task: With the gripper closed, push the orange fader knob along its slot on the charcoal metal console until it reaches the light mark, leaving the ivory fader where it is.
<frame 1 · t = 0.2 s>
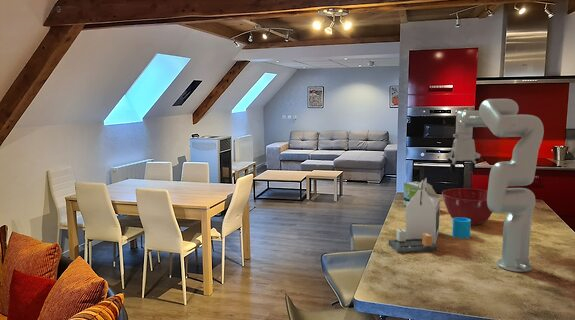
hand: (462, 171, 223), 31 cm above the kitchen island, tool pointing down, fingers open, 9 cm apart
fader orange: (427, 239, 203), point 5 cm above the kitchen island, slide at 1.0 cm
tea box: (417, 207, 281), on the kitchen island
mixing bowl: (468, 221, 249), on the kitchen island
console: (412, 247, 207), on the kitchen island
fader ivory: (401, 235, 210), point 5 cm above the kitchen island, slide at 10.0 cm
gable box: (422, 237, 223), on the kitchen island, touching console
mug: (461, 235, 226), on the kitchen island
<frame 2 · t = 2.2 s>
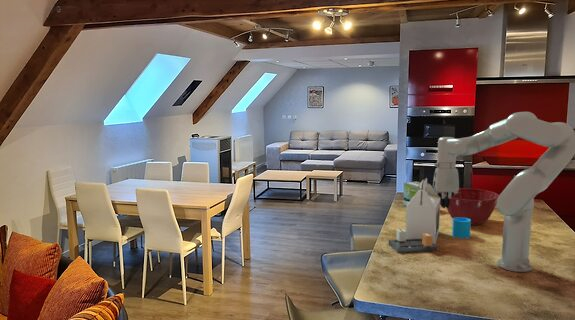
hand: (444, 206, 202), 19 cm above the kitchen island, tool pointing down, fingers closed
nothing on the kitchen island moved.
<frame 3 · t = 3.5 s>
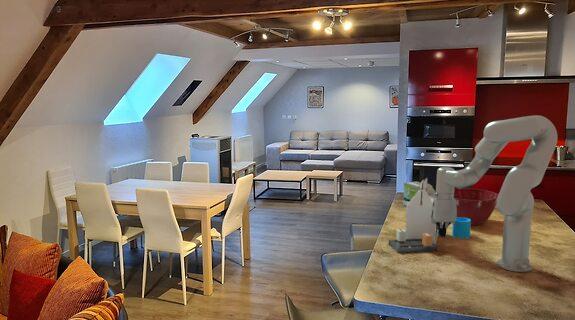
hand: (442, 236, 204), 6 cm above the kitchen island, tool pointing down, fingers closed
nothing on the kitchen island moved.
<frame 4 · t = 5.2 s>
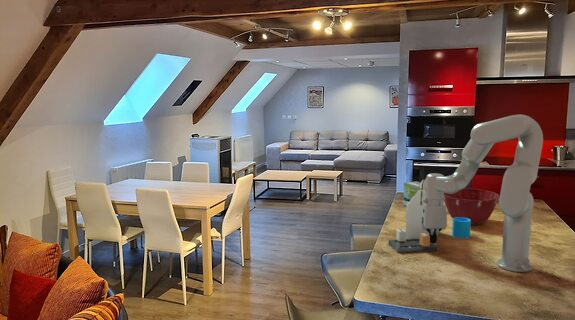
hand: (433, 242, 204), 3 cm above the kitchen island, tool pointing down, fingers closed
fader orange: (424, 239, 203), point 5 cm above the kitchen island, slide at 2.2 cm, touching gripper
everything else where it was.
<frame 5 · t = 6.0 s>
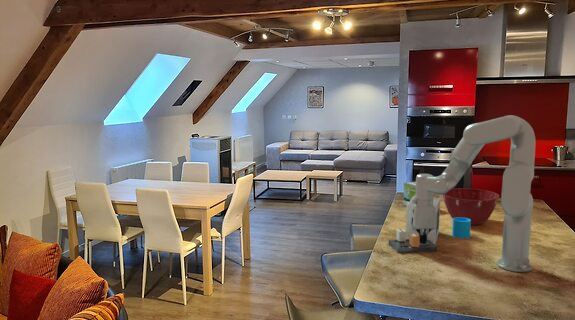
hand: (422, 242, 203), 3 cm above the kitchen island, tool pointing down, fingers closed
fader orange: (414, 240, 203), point 5 cm above the kitchen island, slide at 6.9 cm, touching gripper
everything else where it was.
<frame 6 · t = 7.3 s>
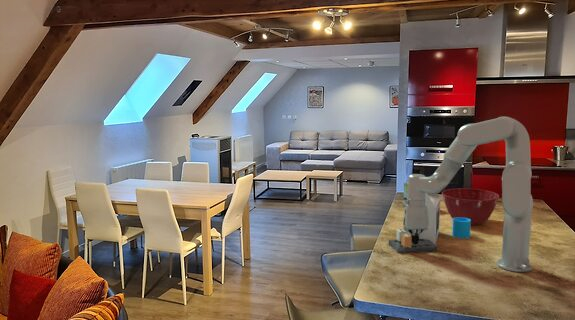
hand: (414, 243, 203), 3 cm above the kitchen island, tool pointing down, fingers closed
fader orange: (406, 240, 202), point 5 cm above the kitchen island, slide at 10.5 cm, touching gripper
everything else where it was.
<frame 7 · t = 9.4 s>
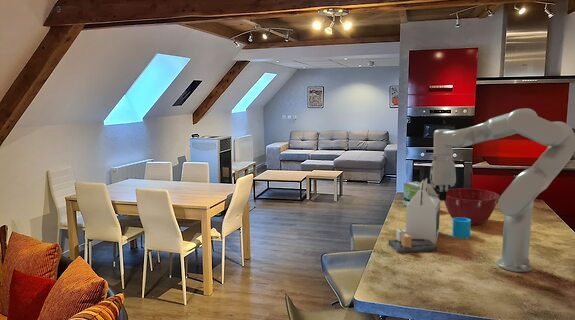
hand: (442, 200, 200), 23 cm above the kitchen island, tool pointing down, fingers closed
fader orange: (406, 240, 202), point 5 cm above the kitchen island, slide at 10.5 cm
everything else where it was.
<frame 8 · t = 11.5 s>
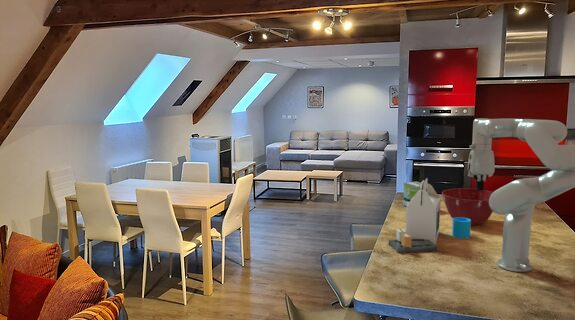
hand: (479, 189, 199), 27 cm above the kitchen island, tool pointing down, fingers closed
nothing on the kitchen island moved.
at the end: fader orange slide at 10.5 cm; fader ivory slide at 10.0 cm; fader orange touching nothing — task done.
